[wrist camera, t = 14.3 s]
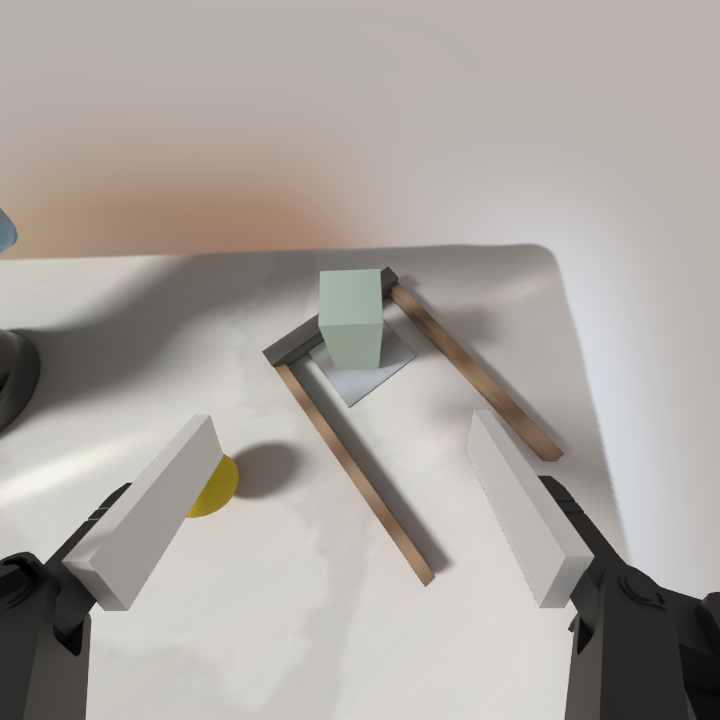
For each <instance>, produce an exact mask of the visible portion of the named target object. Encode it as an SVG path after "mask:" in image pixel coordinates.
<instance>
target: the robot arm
mask: <svg viewBox="0 0 720 720" xmlns="http://www.w3.org/2000/svg"><path fill="white" fill-rule="evenodd" d="M17 237H18V234H17V230H16V227H15V226H14V224H13V222H12V221H11V220H10V218H9V217H8V216H7V215H6V214H5V213H4V212H3V210H1V208H0V254H2V253H3V252H4V251H6V250H7V249H9V248H10V247H12V246H13V245H14V244H15V243H16V241H17ZM38 370H39V361H38V356H37V352H36V350H35V348H34V346H33V345H32V344H31V343H30V342H29V341H28V340H27V339H26V338H24V337H22V336H20V335H18V334H15V333H12V332H9V331H6V330H3V329H0V431H1V430H2V429H3V428H4V427H6V426H7V425H8V424H9V423H10V422H11V421H12V420H13V419H14V418H15V417H16V416H17V414H18V413H19V412H20V411H21V409H22V408H23V407H24V405H25V404H26V402H27V401H28V399H29V397H30V395H31V393H32V391H33V389H34V387H35V384H36V381H37V377H38ZM466 453H467V455H468V458H469V460H470V462H471V464H472V466H473V468H474V470H475V472H476V475H477V477H478V479H479V481H480V483H481V485H482V487H483V489H484V492H485V494H486V496H487V498H488V500H489V502H490V504H491V506H492V509H493V511H494V513H495V515H496V517H497V519H498V521H499V523H500V526H501V528H502V530H503V532H504V534H505V536H506V538H507V540H508V543H509V545H510V547H511V549H512V551H513V553H514V555H515V557H516V560H517V562H518V564H519V566H520V568H521V570H522V572H523V574H524V577H525V579H526V581H527V583H528V585H529V587H530V589H531V591H532V594H533V596H534V598H535V600H536V602H537V604H538V606H539V608H564V607H565V606H566V604H567V602H568V601H569V599H571V600H572V602H573V604H574V606H575V607H576V609H577V611H578V613H577V614H576V616H575V617H574V619H573V620H572V622H571V624H570V626H569V628H568V630H569V631H571V632H573V631H574V637H573V647H572V656H571V665H570V674H569V683H568V692H567V701H566V710H565V720H720V592H714V593H709V594H708V595H707V596H706V597H705V598H704V599H703V600H700V599H697V598H694V597H691V596H687V595H684V594H681V593H678V592H674V591H671V590H668V589H665V588H662V587H660V586H659V585H658V584H656V583H655V582H654V581H653V580H652V579H651V578H650V577H649V576H647V575H646V574H644V573H643V572H641V571H640V570H638V569H637V568H634V567H632V566H629V565H627V564H626V563H625V562H624V561H623V560H622V559H621V558H620V557H619V555H618V554H617V553H616V552H615V550H614V549H613V548H612V546H611V545H610V544H609V543H608V541H607V540H606V539H605V538H604V536H603V535H602V534H601V533H600V531H599V530H598V529H597V528H596V526H595V525H594V524H593V522H592V521H591V520H590V519H589V517H588V516H587V515H586V514H584V511H583V510H582V509H581V507H580V506H579V505H578V504H577V503H575V500H574V498H573V497H572V496H571V495H570V493H569V492H568V491H567V490H566V488H565V487H564V486H563V485H561V484H560V483H559V482H557V481H556V480H555V479H554V478H552V477H551V476H537V475H536V474H535V472H534V471H533V469H532V468H531V467H530V465H529V464H528V463H527V461H526V460H525V458H524V457H523V456H522V454H521V453H520V451H519V450H518V449H517V447H516V446H515V444H514V443H513V442H512V440H511V439H510V437H509V436H508V435H507V433H506V432H505V430H504V429H503V428H502V426H501V425H500V423H499V422H498V421H497V419H496V418H495V416H494V415H493V414H492V412H491V411H490V409H474V410H473V415H472V421H471V426H470V432H469V437H468V442H467V448H466ZM222 457H223V453H222V450H221V447H220V444H219V441H218V438H217V435H216V432H215V429H214V426H213V423H212V420H211V417H210V415H194V416H193V417H192V419H191V420H190V421H189V422H188V423H187V424H186V425H185V426H184V427H183V428H182V430H181V431H180V432H179V433H178V434H177V435H176V436H175V437H174V438H173V439H172V441H171V442H170V443H169V444H168V445H167V446H166V447H165V448H164V449H163V450H162V452H161V453H160V454H159V455H158V456H157V457H156V458H155V459H154V460H153V461H152V462H151V464H150V465H149V466H148V467H147V468H146V469H145V470H144V471H143V472H142V473H141V475H140V476H139V477H138V478H137V479H136V480H135V481H134V482H133V483H126V484H125V485H123V486H122V487H120V488H119V489H118V490H116V491H115V492H113V493H112V494H111V495H110V496H109V497H108V498H107V499H106V500H105V501H104V502H103V503H102V504H101V505H100V506H99V509H98V510H96V511H95V512H94V513H93V514H92V515H91V516H90V517H89V518H88V521H85V522H84V523H83V524H82V525H81V526H80V527H79V528H78V529H77V530H76V532H75V533H74V534H73V535H72V536H71V537H70V538H69V539H68V540H67V541H66V542H65V543H64V544H63V545H62V546H61V547H60V548H59V549H58V550H57V551H56V552H55V554H54V555H53V556H52V557H51V558H50V559H49V560H48V561H47V562H46V563H45V564H44V565H43V564H42V563H41V562H40V561H39V560H38V559H37V557H36V556H35V555H34V554H32V553H30V552H22V553H17V554H14V555H11V556H9V557H6V558H4V559H2V560H0V720H85V718H86V701H87V685H88V668H89V651H90V634H91V617H90V614H89V613H88V612H89V611H90V610H91V608H92V607H93V605H94V604H95V603H96V601H97V603H98V604H99V605H100V606H101V607H102V608H103V609H104V611H128V610H129V608H130V607H131V605H132V603H133V602H134V600H135V598H136V597H137V595H138V594H139V592H140V590H141V589H142V587H143V586H144V584H145V582H146V581H147V579H148V577H149V576H150V574H151V573H152V571H153V569H154V568H155V566H156V564H157V563H158V561H159V560H160V558H161V556H162V555H163V553H164V551H165V550H166V548H167V547H168V545H169V543H170V542H171V540H172V538H173V537H174V535H175V534H176V532H177V530H178V529H179V527H180V526H181V524H182V522H183V521H184V519H185V517H186V516H187V514H188V513H189V511H190V509H191V508H192V506H193V504H194V503H195V501H196V500H197V498H198V496H199V495H200V493H201V491H202V490H203V488H204V487H205V485H206V483H207V482H208V480H209V479H210V477H211V475H212V474H213V472H214V470H215V469H216V467H217V466H218V464H219V462H220V461H221V459H222Z"/></svg>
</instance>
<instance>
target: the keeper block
mask: <svg viewBox="0 0 720 720" xmlns="http://www.w3.org/2000/svg"><path fill="white" fill-rule="evenodd" d="M318 326H319V329H320V331H321V333H322V336H323V338H324V341H325V343H326V346H327V348H328V350H329V353H330V355H331V358H332V360H333V363H334V365H335V367H336V370H359V369H379V359H380V350H381V340H382V330H383V312H382V294H381V276H380V269H363V270H340V271H320V286H319V320H318Z"/></svg>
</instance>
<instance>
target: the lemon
mask: <svg viewBox="0 0 720 720" xmlns="http://www.w3.org/2000/svg"><path fill="white" fill-rule="evenodd" d="M238 482H239V472H238V468H237V466H236V464H235V462H234V461H233V460H232V459H231V458H230V457H228V456H226V455H225V454H223V457H222V459H221V461H220V462H219V464H218V466H217V467H216V469H215V470H214V472H213V474H212V475H211V477H210V479H209V480H208V482H207V483H206V485H205V487H204V488H203V490H202V491H201V493H200V495H199V496H198V498H197V500H196V501H195V503H194V504H193V506H192V508H191V509H190V511H189V513H188V514H187V516H186V517H190V518H195V517H201V516H206V515H209V514H211V513H213V512H215V511H217V510H219V509H220V508H221V507H223V506H224V505H225V504H226V503H228V501H229V500H230V499H231V498H232V496H233V495H234V493H235V491H236V489H237V486H238Z"/></svg>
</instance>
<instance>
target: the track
mask: <svg viewBox="0 0 720 720" xmlns="http://www.w3.org/2000/svg"><path fill="white" fill-rule="evenodd" d="M380 276H381V294H382V301H383V300H384V299H386V298H387V297H389V296H390V298H391V299H392V300H393V301H394V302H395V303H396V304H397V305H398V306H399V307H400V308H401V309H402V310H403V311H404V312H405V314H406V315H407V316H408V317H409V318H410V319H411V320H412V321H413V322H414V323H415V324H416V325H417V326H418V327H419V328H420V330H421V331H422V332H423V333H424V334H425V335H426V336H427V337H428V338H429V339H430V340H431V341H432V342H433V343H434V344H435V346H436V347H437V348H438V349H439V350H440V351H441V352H442V353H443V354H444V355H445V356H446V357H447V358H448V359H449V361H450V362H451V363H452V364H453V365H454V366H455V367H456V368H457V369H458V370H459V371H460V372H461V373H462V374H463V375H464V377H465V378H466V379H467V380H468V381H469V382H470V383H471V384H472V385H473V386H474V387H475V388H476V389H477V390H478V391H479V393H480V394H481V395H482V396H483V397H484V398H485V399H486V400H487V401H488V402H489V403H490V404H491V405H492V406H493V407H494V409H495V410H496V411H497V412H498V413H499V414H500V415H501V416H502V417H503V418H504V419H505V420H506V421H507V422H508V424H509V425H510V426H511V427H512V428H513V429H514V430H515V431H516V432H517V433H518V434H519V435H520V436H521V437H522V438H523V440H524V441H525V442H526V443H527V444H528V445H529V446H530V447H531V448H532V449H533V450H534V451H535V452H536V453H537V454H538V456H539V457H540V458H541V459H542V460H543V461H557V460H558V459H559V458H560V457H561V456H562V455H563V454H564V453H563V452H562V451H561V450H560V449H559V448H558V447H557V446H556V445H555V444H554V443H553V442H552V441H551V440H550V439H549V438H548V437H547V436H546V435H545V434H544V432H543V431H542V430H541V429H540V428H539V427H538V426H537V425H536V424H535V423H534V422H533V421H532V420H531V419H530V418H529V417H528V416H527V415H526V414H525V413H524V412H523V411H522V410H521V409H520V408H519V407H518V406H517V405H516V404H515V403H514V402H513V401H512V399H511V398H510V397H509V396H508V395H507V394H506V393H505V392H504V391H503V390H502V389H501V388H500V387H499V386H498V385H497V384H496V383H495V382H494V381H493V380H492V379H491V378H490V377H489V376H488V375H487V374H486V373H485V372H484V371H483V370H482V369H481V368H480V367H479V365H478V364H477V363H476V362H475V361H474V360H473V359H472V358H471V357H470V356H469V355H468V354H467V353H466V352H465V351H464V350H463V349H462V348H461V347H460V346H459V345H458V344H457V343H456V342H455V341H454V340H453V339H452V338H451V337H450V336H449V335H448V334H447V332H446V331H445V330H444V329H443V328H442V327H441V326H440V325H439V324H438V323H437V322H436V321H435V320H434V319H433V318H432V317H431V316H430V315H429V314H428V313H427V312H426V311H425V310H424V309H423V308H422V307H421V306H420V305H419V304H418V303H417V302H416V301H415V299H414V298H413V297H412V296H411V295H410V294H409V293H408V292H407V291H406V290H405V289H404V288H403V287H402V286H401V285H400V284H399V283H398V276H397V275H396V274H395V273H394V272H393V271H392V270H391V269H390V268H389V267H387V268H385V269H384V270H382V271H381V272H380ZM318 320H319V314H317V315H316V316H314V317H313V318H311V319H310V320H308V321H307V322H305V323H304V324H302V325H301V326H299V327H298V328H296V329H295V330H293V331H292V332H290V333H289V334H287V335H286V336H285V337H283V338H282V339H280V340H279V341H277V342H276V343H274V344H273V345H271V346H270V347H268V348H267V349H265V350H264V351H262V352H263V354H264V355H265V356H266V358H267V359H268V361H269V362H270V364H271V365H272V366H273V367H274V368H275V369H276V371H277V372H278V374H279V375H280V377H281V378H282V379H283V381H284V382H285V384H286V385H287V387H288V388H289V390H290V391H291V393H292V394H293V395H294V397H295V398H296V400H297V401H298V403H299V404H300V406H301V407H302V409H303V410H304V411H305V413H306V414H307V416H308V417H309V419H310V420H311V422H312V423H313V425H314V426H315V427H316V429H317V430H318V432H319V433H320V435H321V436H322V438H323V439H324V440H325V442H326V443H327V445H328V446H329V448H330V449H331V451H332V452H333V454H334V455H335V456H336V458H337V459H338V461H339V462H340V464H341V465H342V467H343V468H344V470H345V471H346V472H347V474H348V475H349V477H350V478H351V480H352V481H353V483H354V484H355V486H356V487H357V488H358V490H359V491H360V493H361V494H362V496H363V497H364V499H365V500H366V502H367V503H368V504H369V506H370V507H371V509H372V510H373V512H374V513H375V515H376V516H377V518H378V519H379V520H380V522H381V523H382V525H383V526H384V528H385V529H386V531H387V532H388V534H389V535H390V536H391V538H392V539H393V541H394V542H395V544H396V545H397V547H398V548H399V550H400V551H401V552H402V554H403V555H404V557H405V558H406V560H407V561H408V563H409V564H410V566H411V567H412V568H413V570H414V571H415V573H416V574H417V576H418V577H419V579H420V580H421V582H422V583H423V584H424V586H425V587H426V586H427V585H428V584H429V583H430V582H431V581H432V580H433V579H434V578H435V575H434V573H433V571H432V569H431V568H430V566H429V565H428V563H427V562H426V561H425V559H424V558H423V556H422V555H421V553H420V552H419V551H418V549H417V548H416V546H415V545H414V544H413V542H412V541H411V539H410V538H409V537H408V535H407V534H406V532H405V531H404V529H403V528H402V527H401V525H400V524H399V522H398V521H397V520H396V518H395V517H394V515H393V514H392V513H391V511H390V510H389V508H388V507H387V505H386V504H385V503H384V501H383V500H382V498H381V497H380V496H379V494H378V493H377V491H376V490H375V488H374V487H373V486H372V484H371V483H370V481H369V480H368V479H367V477H366V476H365V474H364V473H363V472H362V470H361V469H360V467H359V466H358V464H357V463H356V462H355V460H354V459H353V457H352V456H351V455H350V453H349V452H348V450H347V449H346V448H345V446H344V445H343V443H342V442H341V440H340V439H339V438H338V436H337V435H336V433H335V432H334V431H333V429H332V428H331V426H330V425H329V423H328V422H327V421H326V419H325V418H324V416H323V415H322V414H321V412H320V411H319V409H318V408H317V407H316V405H315V404H314V402H313V401H312V399H311V398H310V397H309V395H308V394H307V392H306V391H305V390H304V388H303V387H302V385H301V384H300V383H299V381H298V380H297V378H296V377H295V375H294V374H293V373H292V371H291V370H290V368H289V366H290V365H291V364H293V363H294V362H296V361H297V360H299V359H300V358H301V357H303V356H304V355H306V354H307V353H308V354H309V355H310V356H311V358H312V359H313V360H314V362H315V363H316V364H317V366H318V367H319V368H320V370H321V371H322V372H323V374H324V375H325V376H326V378H327V379H328V380H329V382H330V383H331V384H332V386H333V387H334V388H335V390H336V391H337V392H338V394H339V395H340V396H341V398H342V399H343V400H344V402H345V403H346V404H347V406H348V407H350V406H352V405H353V404H354V403H356V402H357V401H358V400H360V399H361V398H362V397H364V396H365V395H366V394H367V393H369V392H370V391H371V390H373V389H374V388H375V387H377V386H378V385H379V384H381V383H382V382H383V381H384V380H386V379H387V378H388V377H390V376H391V375H392V374H394V373H395V372H396V371H398V370H399V369H400V368H401V367H403V366H404V365H405V364H407V363H408V362H409V361H411V360H412V359H413V358H415V355H414V354H413V353H412V352H411V351H410V350H409V348H408V347H407V346H406V345H405V344H404V343H403V342H402V341H401V340H400V338H399V337H398V336H397V335H396V334H395V333H394V332H393V331H392V329H391V328H390V327H389V326H388V325H387V324H386V323H385V322H384V321H383V330H382V340H381V350H380V359H379V369H359V370H336V367H335V365H334V363H333V360H332V358H331V355H330V353H329V350H328V348H327V346H326V343H325V341H324V338H323V336H322V333H321V331H320V329H319V326H318Z"/></svg>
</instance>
